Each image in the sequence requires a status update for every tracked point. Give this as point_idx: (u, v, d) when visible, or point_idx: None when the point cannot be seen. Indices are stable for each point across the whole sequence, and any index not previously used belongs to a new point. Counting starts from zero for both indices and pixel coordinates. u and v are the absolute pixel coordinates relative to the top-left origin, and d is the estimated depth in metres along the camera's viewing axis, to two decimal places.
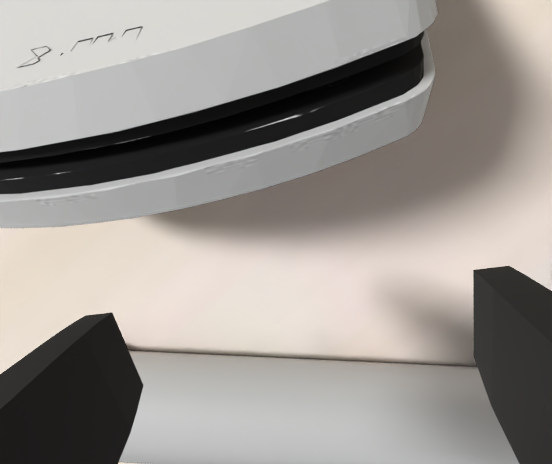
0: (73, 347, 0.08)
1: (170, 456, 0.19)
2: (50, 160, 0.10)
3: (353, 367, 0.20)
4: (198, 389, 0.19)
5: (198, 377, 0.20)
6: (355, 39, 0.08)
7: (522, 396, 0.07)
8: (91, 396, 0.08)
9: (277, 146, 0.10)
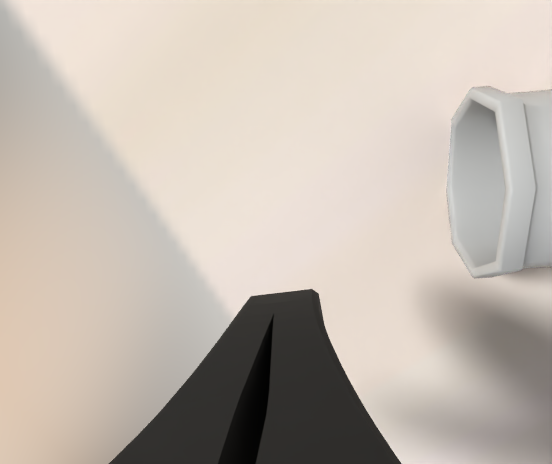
0: (270, 326, 0.07)
1: None
2: None
3: None
4: None
5: None
6: None
7: None
8: None
9: None
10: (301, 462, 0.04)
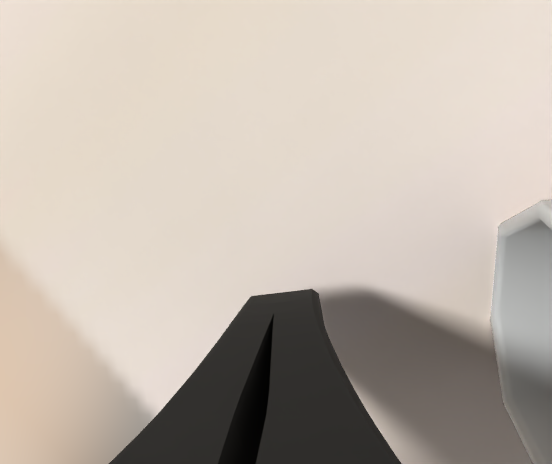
0: (270, 326, 0.07)
1: None
2: None
3: None
4: None
5: None
6: None
7: None
8: None
9: None
10: (301, 462, 0.04)
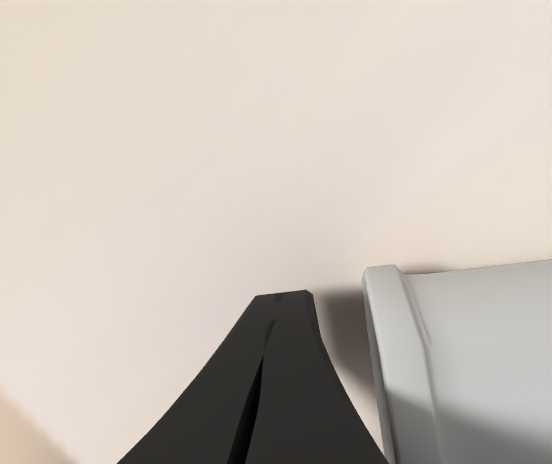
0: None
1: None
2: None
3: None
4: None
5: None
6: None
7: None
8: None
9: None
10: (289, 463, 0.04)
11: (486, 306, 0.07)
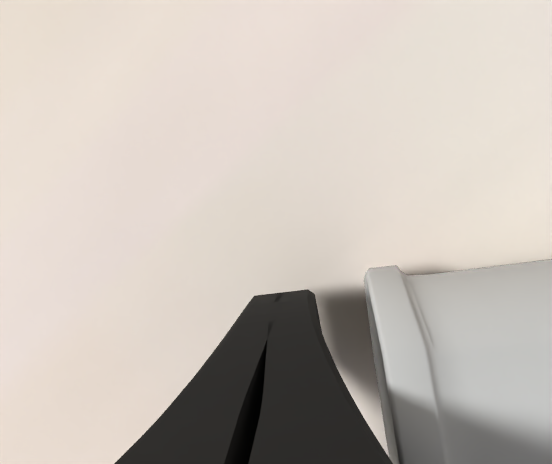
0: (274, 326, 0.07)
1: None
2: None
3: None
4: None
5: None
6: None
7: None
8: None
9: None
10: (293, 462, 0.04)
11: (490, 306, 0.07)
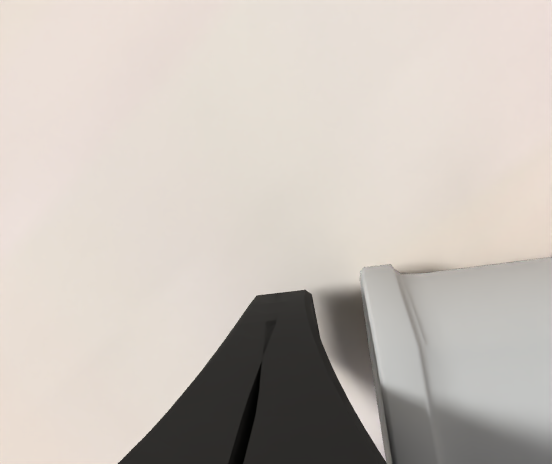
0: None
1: None
2: None
3: None
4: None
5: None
6: None
7: None
8: None
9: None
10: (288, 463, 0.04)
11: (482, 304, 0.07)
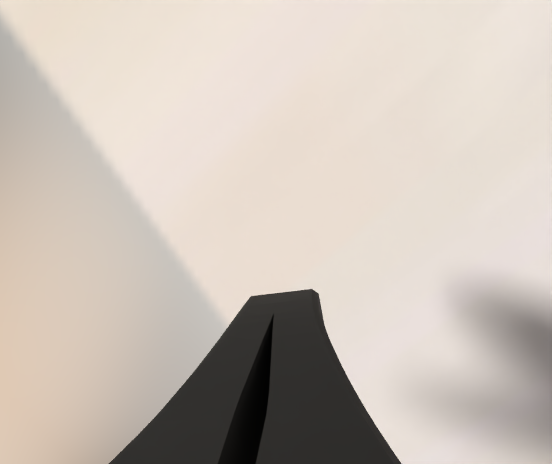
0: (270, 326, 0.07)
1: None
2: None
3: None
4: None
5: None
6: None
7: None
8: None
9: None
10: (301, 462, 0.04)
11: None
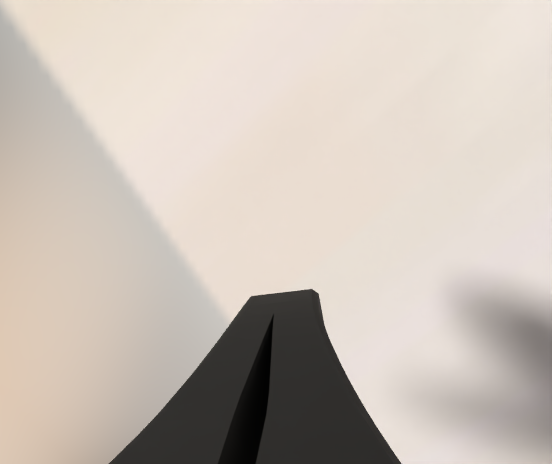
0: (270, 326, 0.07)
1: None
2: None
3: None
4: None
5: None
6: None
7: None
8: None
9: None
10: (301, 462, 0.04)
11: None
